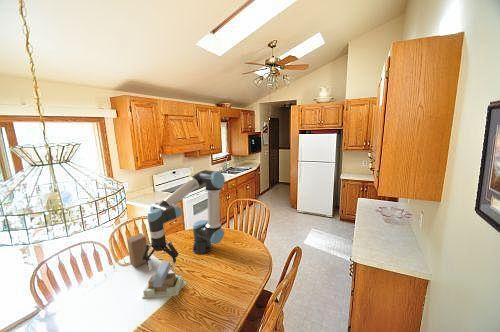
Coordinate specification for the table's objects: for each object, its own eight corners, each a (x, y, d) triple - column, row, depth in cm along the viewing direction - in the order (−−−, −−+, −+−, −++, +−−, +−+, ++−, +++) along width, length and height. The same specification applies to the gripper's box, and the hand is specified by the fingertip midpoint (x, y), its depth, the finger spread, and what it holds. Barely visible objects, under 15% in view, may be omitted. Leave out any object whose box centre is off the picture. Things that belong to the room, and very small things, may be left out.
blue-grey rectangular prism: (163, 268, 133) (162, 261, 132) (170, 268, 133) (169, 261, 132) (153, 287, 117) (152, 279, 116) (161, 286, 117) (160, 278, 116)
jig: (151, 282, 132) (150, 276, 131) (183, 279, 133) (182, 274, 133) (142, 298, 119) (141, 292, 119) (177, 295, 121) (177, 289, 120)
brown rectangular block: (153, 284, 128) (152, 274, 127) (176, 282, 130) (175, 272, 128) (149, 292, 123) (148, 281, 121) (173, 290, 124) (172, 279, 122)
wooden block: (149, 261, 153) (146, 236, 150) (134, 268, 146) (131, 242, 143) (144, 256, 160) (141, 232, 157) (130, 262, 153) (126, 237, 149)
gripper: (132, 241, 116) (138, 274, 120) (177, 237, 117) (181, 270, 121) (138, 234, 123) (143, 265, 127) (181, 230, 125) (184, 262, 129)
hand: (162, 268), depth 124 cm, fingers open, 13 cm apart
